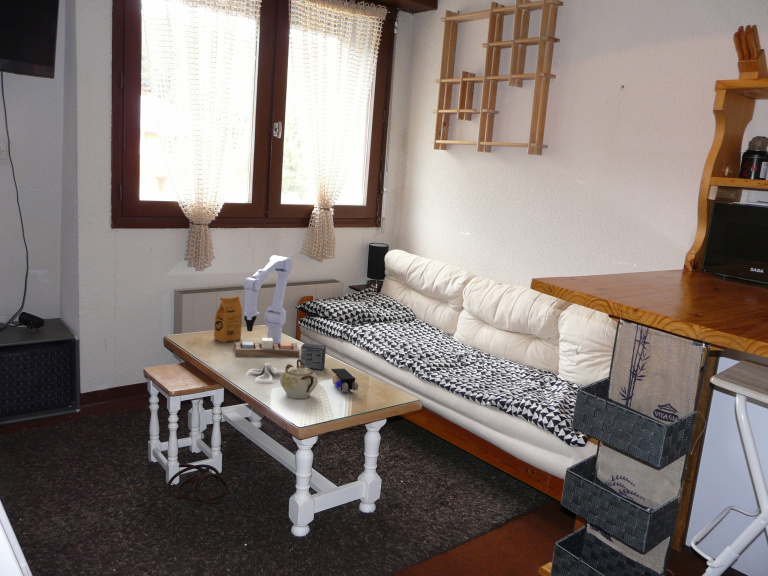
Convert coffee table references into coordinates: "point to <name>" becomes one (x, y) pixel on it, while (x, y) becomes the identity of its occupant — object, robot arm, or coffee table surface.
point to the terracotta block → (285, 346)
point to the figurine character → (344, 380)
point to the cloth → (265, 374)
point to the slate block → (247, 345)
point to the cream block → (267, 343)
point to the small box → (313, 356)
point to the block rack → (266, 350)
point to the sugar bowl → (298, 381)
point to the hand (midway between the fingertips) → (249, 331)
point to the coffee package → (228, 320)
